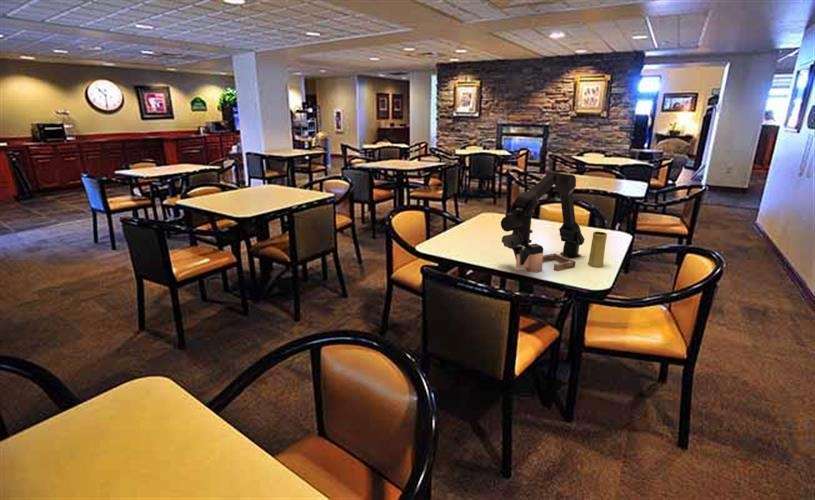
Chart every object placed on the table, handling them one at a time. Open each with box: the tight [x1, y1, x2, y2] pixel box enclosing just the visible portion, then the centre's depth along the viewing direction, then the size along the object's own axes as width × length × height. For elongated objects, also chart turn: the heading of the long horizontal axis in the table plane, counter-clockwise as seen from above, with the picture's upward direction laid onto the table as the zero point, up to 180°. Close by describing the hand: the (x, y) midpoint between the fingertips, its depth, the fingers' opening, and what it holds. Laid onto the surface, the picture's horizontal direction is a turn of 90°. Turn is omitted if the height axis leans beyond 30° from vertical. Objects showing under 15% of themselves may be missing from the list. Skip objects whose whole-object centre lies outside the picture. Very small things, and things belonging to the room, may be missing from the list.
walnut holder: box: [543, 253, 576, 272], centre depth 186 cm, size 10×12×2 cm
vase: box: [587, 231, 608, 268], centre depth 184 cm, size 6×6×14 cm
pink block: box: [515, 252, 544, 273], centre depth 179 cm, size 12×7×9 cm, turn 116°
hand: (519, 264), depth 177 cm, fingers closed on pink block
